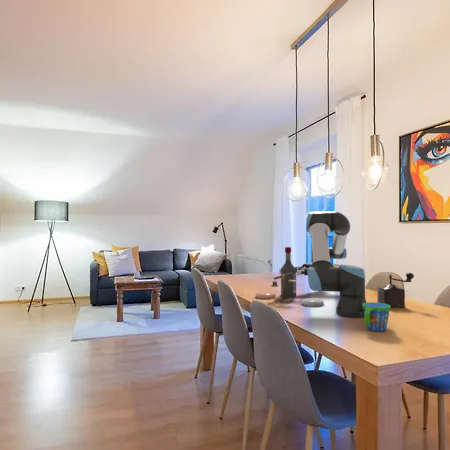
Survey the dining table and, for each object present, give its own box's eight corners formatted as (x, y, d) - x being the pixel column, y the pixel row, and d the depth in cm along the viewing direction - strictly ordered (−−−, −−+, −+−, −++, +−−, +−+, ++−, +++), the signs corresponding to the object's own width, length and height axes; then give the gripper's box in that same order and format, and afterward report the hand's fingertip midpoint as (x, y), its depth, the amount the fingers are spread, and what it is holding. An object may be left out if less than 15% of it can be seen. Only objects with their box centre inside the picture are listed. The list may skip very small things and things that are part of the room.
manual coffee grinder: (385, 308, 184) (385, 273, 185) (376, 303, 196) (376, 270, 196) (416, 308, 184) (415, 273, 185) (405, 303, 195) (405, 270, 196)
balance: (298, 301, 202) (298, 272, 202) (294, 303, 197) (293, 273, 197) (273, 299, 211) (273, 270, 211) (269, 300, 206) (268, 271, 206)
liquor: (280, 297, 215) (280, 247, 215) (281, 294, 224) (280, 246, 224) (296, 298, 213) (295, 247, 213) (295, 295, 222) (295, 246, 222)
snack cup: (376, 323, 155) (376, 300, 155) (399, 329, 147) (399, 304, 147) (353, 329, 147) (353, 304, 147) (376, 336, 138) (376, 309, 138)
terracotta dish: (278, 296, 219) (278, 293, 219) (270, 299, 209) (270, 296, 209) (261, 294, 225) (261, 291, 225) (252, 297, 215) (252, 294, 215)
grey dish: (326, 303, 197) (326, 299, 197) (319, 307, 187) (319, 303, 187) (305, 301, 204) (305, 297, 204) (297, 305, 194) (297, 301, 194)
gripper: (325, 276, 224) (305, 280, 210) (293, 273, 242) (272, 276, 228) (325, 264, 224) (305, 267, 210) (293, 262, 242) (272, 264, 228)
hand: (288, 272), depth 219 cm, fingers open, 13 cm apart
